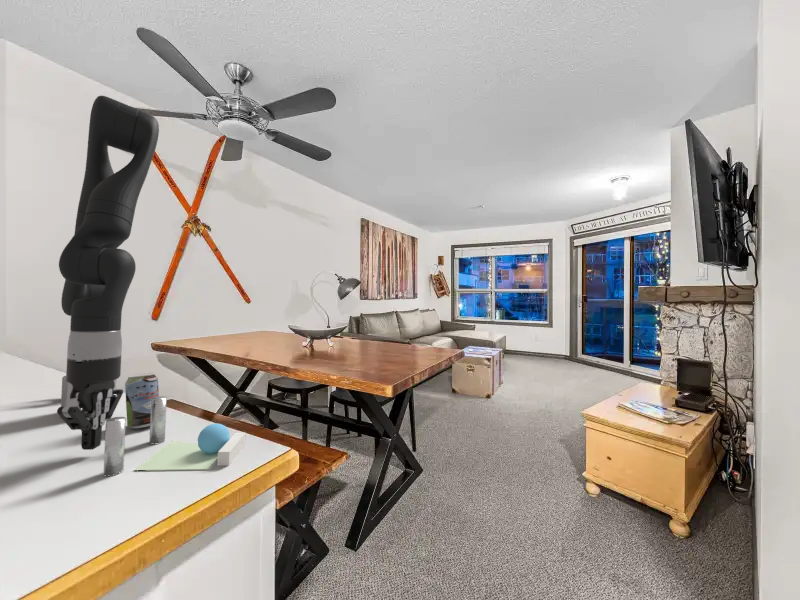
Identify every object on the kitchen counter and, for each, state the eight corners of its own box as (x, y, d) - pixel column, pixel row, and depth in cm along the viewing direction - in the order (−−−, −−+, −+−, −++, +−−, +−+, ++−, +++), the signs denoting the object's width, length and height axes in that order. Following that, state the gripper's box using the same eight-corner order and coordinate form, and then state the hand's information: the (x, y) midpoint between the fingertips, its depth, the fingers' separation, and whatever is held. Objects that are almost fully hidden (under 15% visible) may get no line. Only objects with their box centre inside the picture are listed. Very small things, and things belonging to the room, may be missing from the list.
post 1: (99, 476, 56) (101, 422, 56) (110, 468, 59) (113, 416, 59) (116, 476, 57) (118, 422, 57) (127, 468, 59) (129, 416, 59)
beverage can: (142, 433, 74) (144, 378, 74) (114, 429, 76) (117, 375, 76) (167, 423, 80) (169, 372, 80) (141, 419, 82) (143, 369, 82)
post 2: (146, 444, 69) (148, 399, 69) (154, 439, 72) (156, 396, 72) (160, 444, 69) (162, 399, 69) (167, 439, 72) (169, 396, 72)
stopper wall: (217, 465, 62) (217, 451, 62) (235, 444, 70) (235, 432, 71) (228, 465, 62) (229, 451, 62) (245, 444, 71) (245, 432, 71)
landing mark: (133, 471, 59) (133, 470, 59) (171, 442, 70) (172, 441, 70) (207, 469, 60) (207, 468, 60) (232, 441, 72) (232, 440, 72)
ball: (205, 423, 64) (229, 439, 64) (216, 414, 69) (239, 429, 70) (185, 448, 63) (210, 464, 64) (198, 437, 69) (221, 452, 69)
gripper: (100, 348, 69) (96, 434, 69) (39, 360, 56) (34, 465, 56) (140, 349, 70) (136, 433, 70) (89, 361, 57) (84, 464, 57)
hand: (91, 447), depth 63 cm, fingers closed
